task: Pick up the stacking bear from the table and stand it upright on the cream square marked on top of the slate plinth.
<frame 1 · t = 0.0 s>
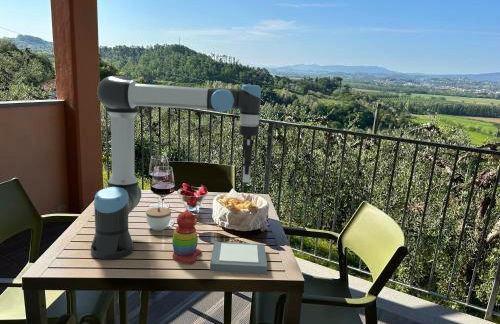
hand: (245, 177, 148), 28 cm above the table, tool pointing down, fingers open, 13 cm apart
lidded jar: (158, 228, 164), on the table
slate plinth: (238, 260, 138), on the table
stacking bear: (185, 257, 139), on the table
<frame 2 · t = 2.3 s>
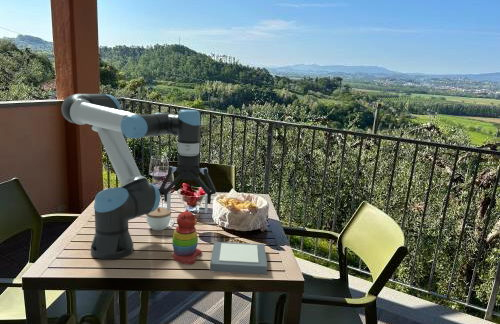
hand: (187, 211, 135), 18 cm above the table, tool pointing down, fingers open, 13 cm apart
nothing on the table moved.
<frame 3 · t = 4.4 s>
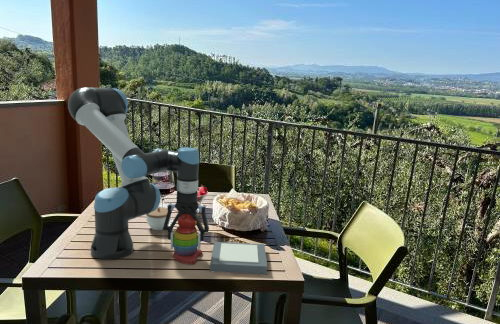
hand: (185, 248, 138), 4 cm above the table, tool pointing down, fingers closed on stacking bear, 9 cm apart
stacking bear: (186, 257, 139), on the table, touching gripper
everything else where it was.
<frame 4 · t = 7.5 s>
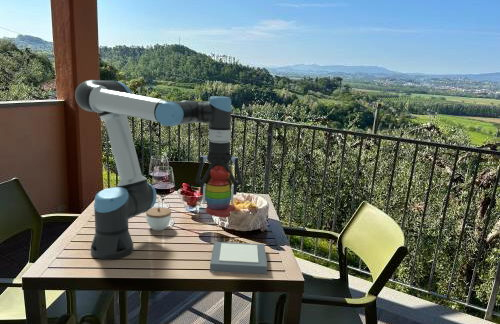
hand: (218, 202, 133), 22 cm above the table, tool pointing down, fingers closed on stacking bear, 9 cm apart
stacking bear: (218, 212, 134), point 19 cm above the table, touching gripper
everything else where it was.
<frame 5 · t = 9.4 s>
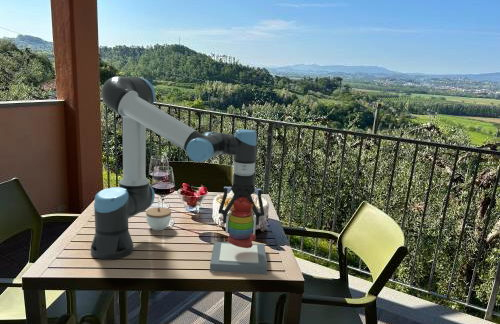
hand: (240, 232, 136), 11 cm above the table, tool pointing down, fingers closed on stacking bear, 9 cm apart
stacking bear: (240, 241, 137), point 8 cm above the table, touching gripper
everything else where it was.
when the fingers open (8 cm above the table, at t = 10.9 s): stacking bear drops 2 cm, resting on slate plinth.
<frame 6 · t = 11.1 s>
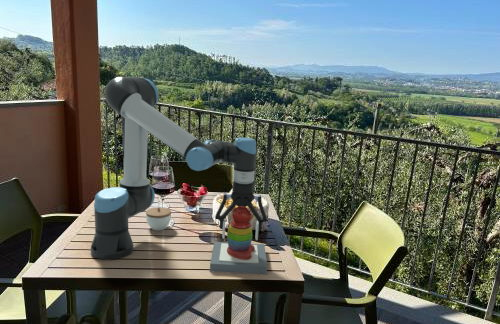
hand: (239, 237, 136), 9 cm above the table, tool pointing down, fingers open, 11 cm apart
stacking bear: (239, 252, 138), point 3 cm above the table, touching slate plinth
everything else where it was.
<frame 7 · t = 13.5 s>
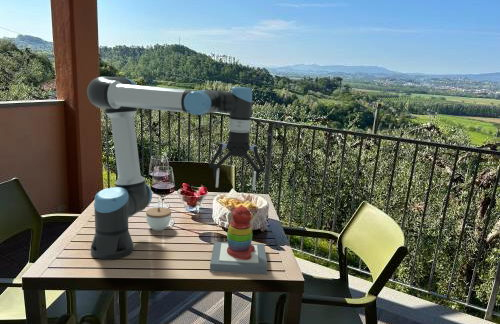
hand: (235, 187, 136), 27 cm above the table, tool pointing down, fingers open, 13 cm apart
nothing on the table moved.
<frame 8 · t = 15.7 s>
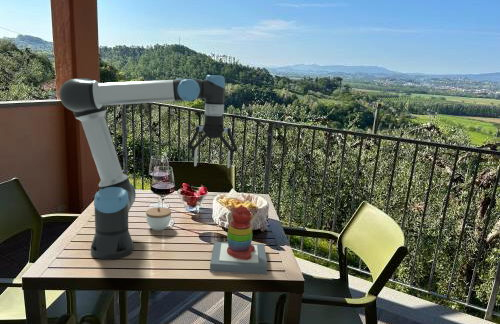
hand: (211, 166, 152), 31 cm above the table, tool pointing down, fingers open, 13 cm apart
nothing on the table moved.
at the end: stacking bear inside the target area on the slate plinth (0.2 cm from its centre), point 3.2 cm above the slate plinth's base; stacking bear tilted 0°; the gripper is holding nothing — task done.
